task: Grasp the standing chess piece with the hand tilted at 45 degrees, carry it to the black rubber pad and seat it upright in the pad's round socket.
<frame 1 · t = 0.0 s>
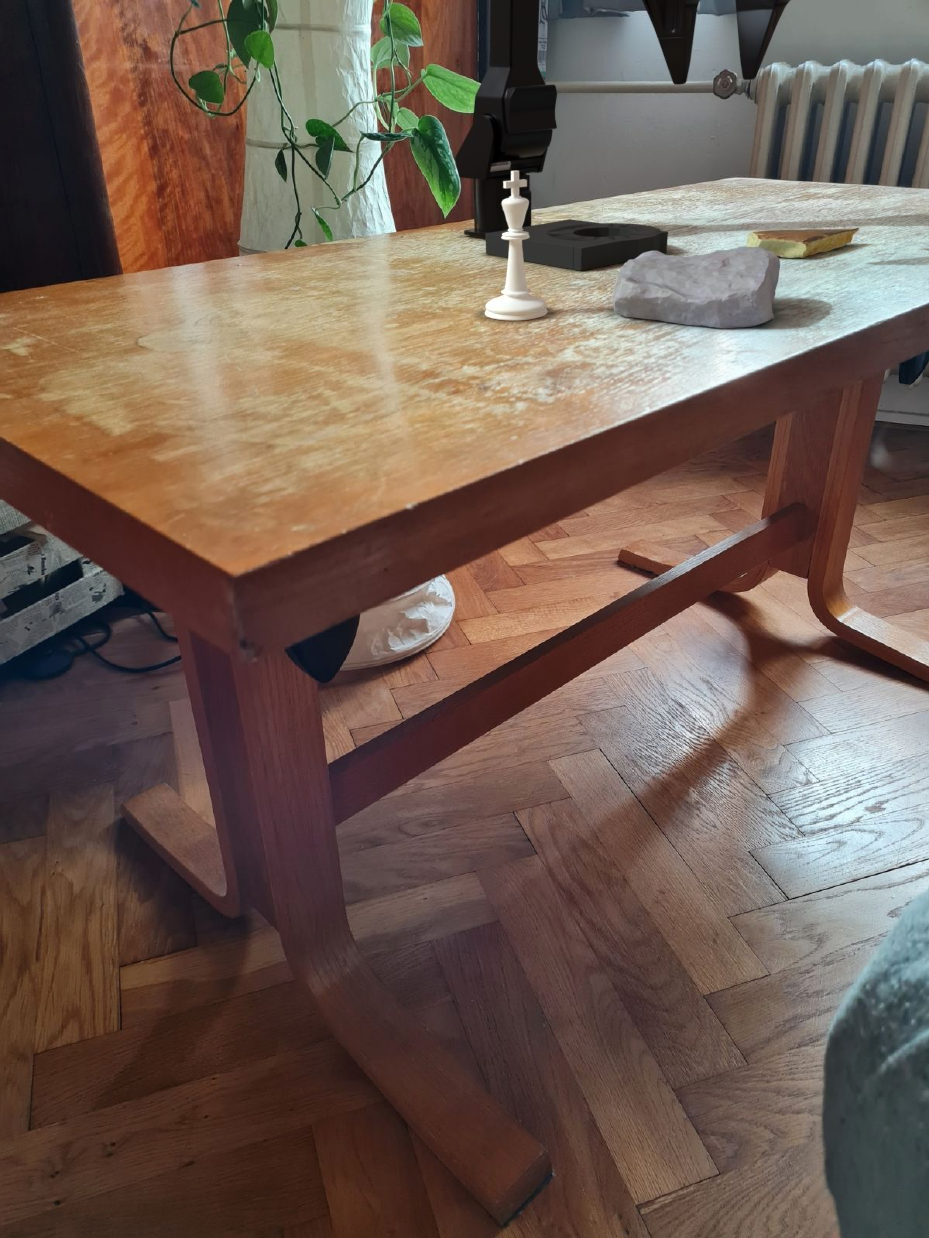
hand: (715, 82, 75), 15 cm above the table, tool pointing down, fingers open, 9 cm apart
yellow brown flat wedge: (789, 251, 88), on the table
stone block: (691, 316, 67), on the table
chess piece: (516, 315, 70), on the table
socket pad: (574, 253, 90), on the table
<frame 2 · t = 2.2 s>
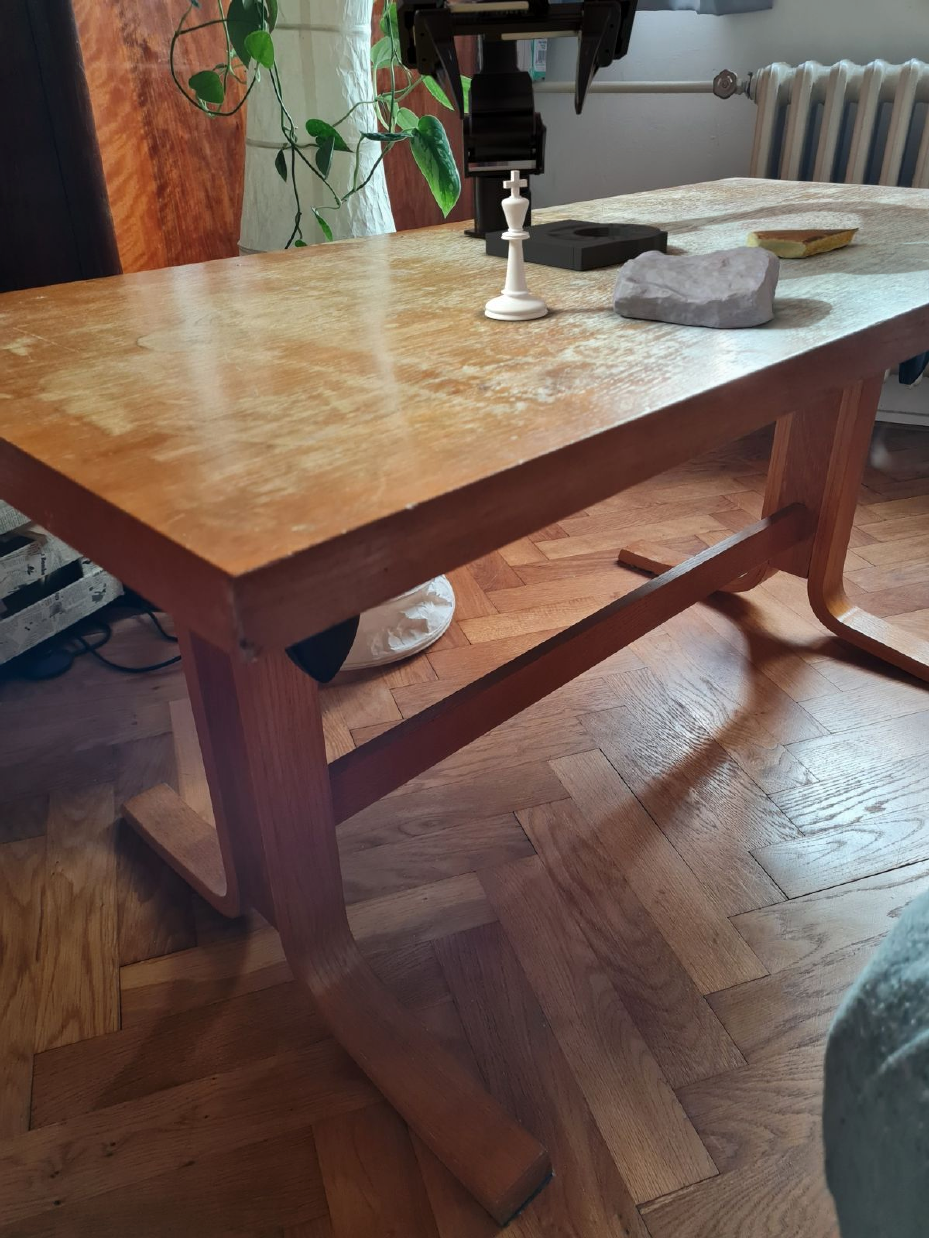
hand: (520, 113, 69), 13 cm above the table, tool tilted 45°, fingers open, 9 cm apart
nothing on the table moved.
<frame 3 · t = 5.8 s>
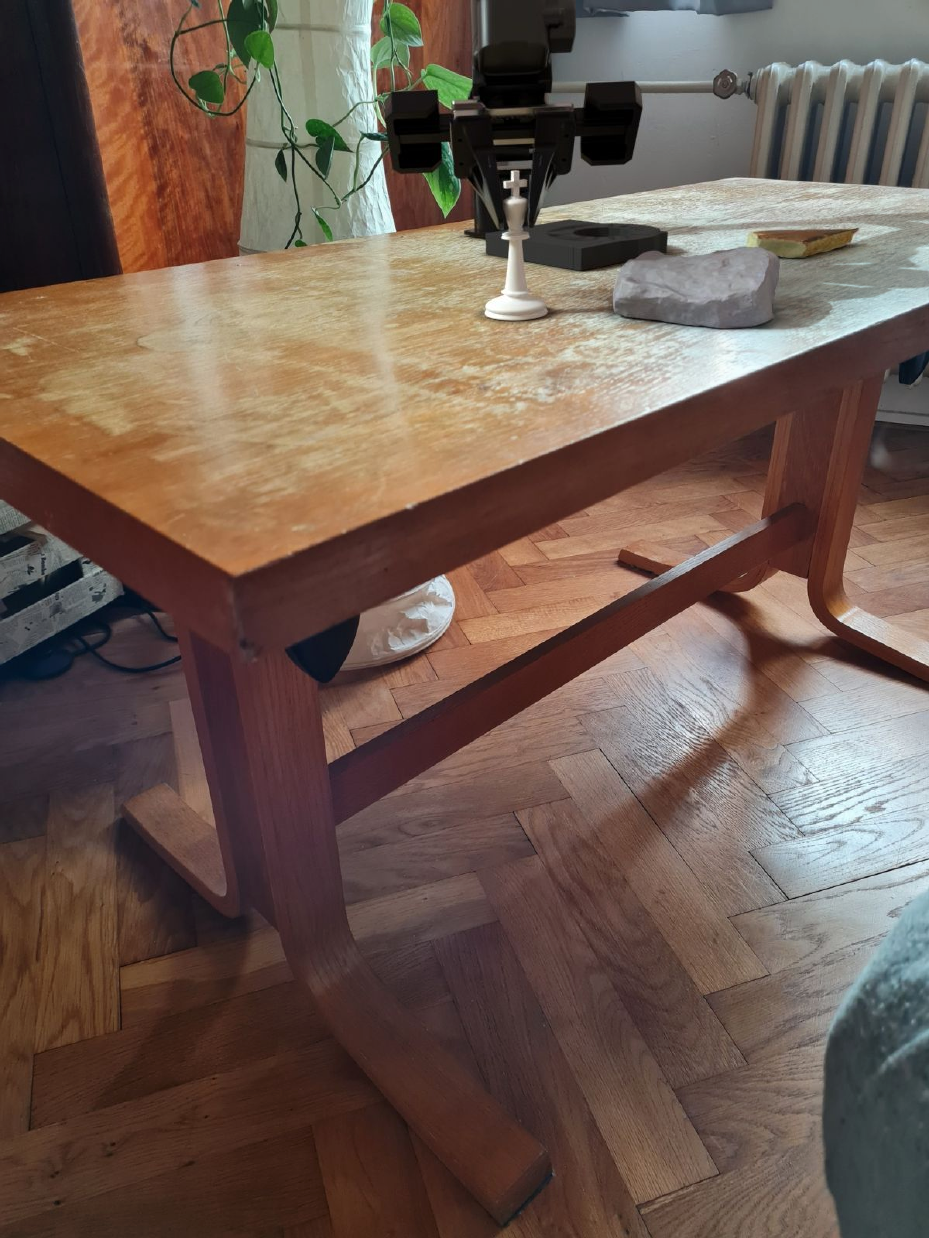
hand: (515, 225, 65), 7 cm above the table, tool tilted 45°, fingers closed on chess piece
chess piece: (516, 315, 70), on the table, touching gripper
everything else where it was.
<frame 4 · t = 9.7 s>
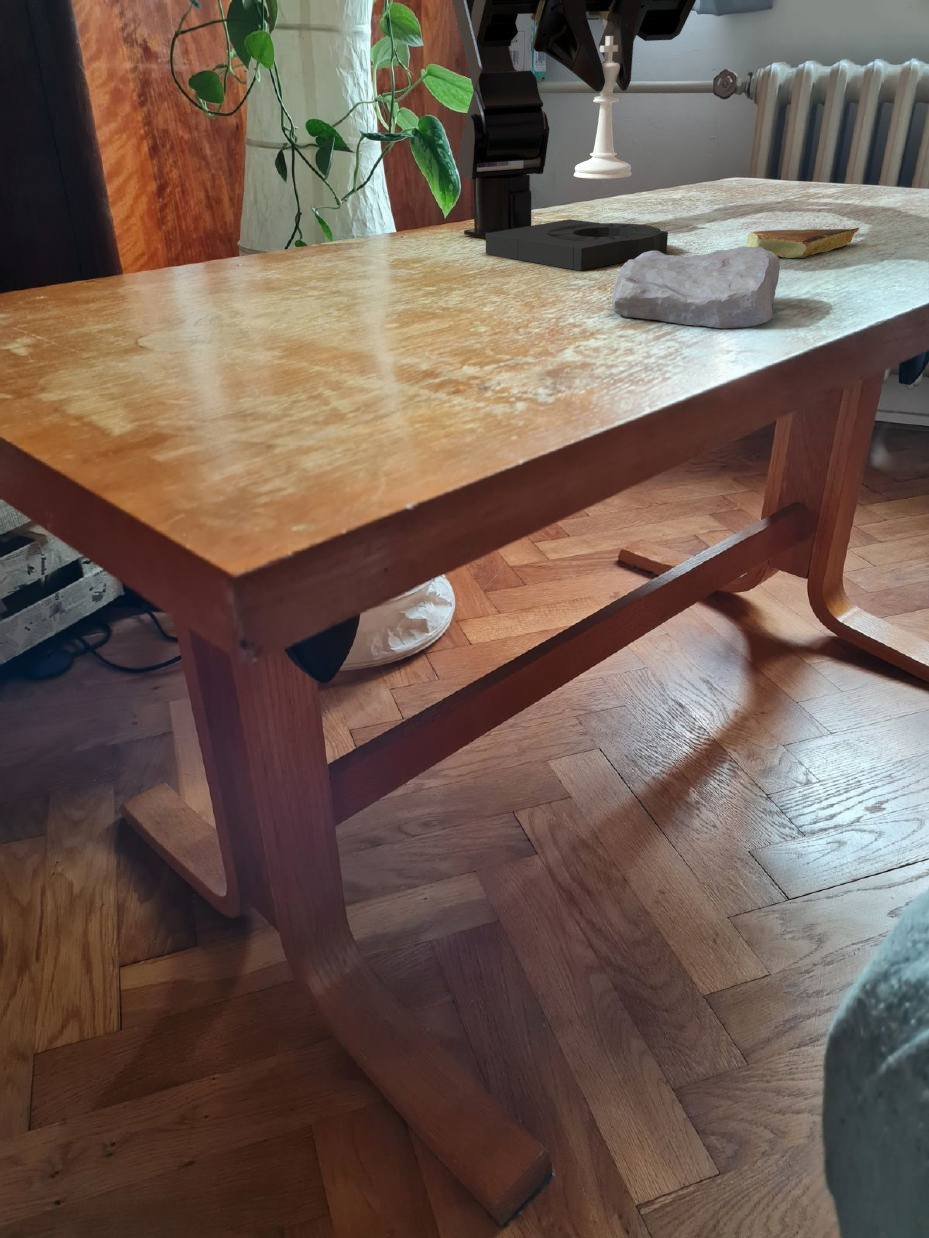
hand: (613, 87, 71), 15 cm above the table, tool tilted 45°, fingers closed on chess piece
chess piece: (602, 178, 76), point 8 cm above the table, touching gripper
everything else where it was.
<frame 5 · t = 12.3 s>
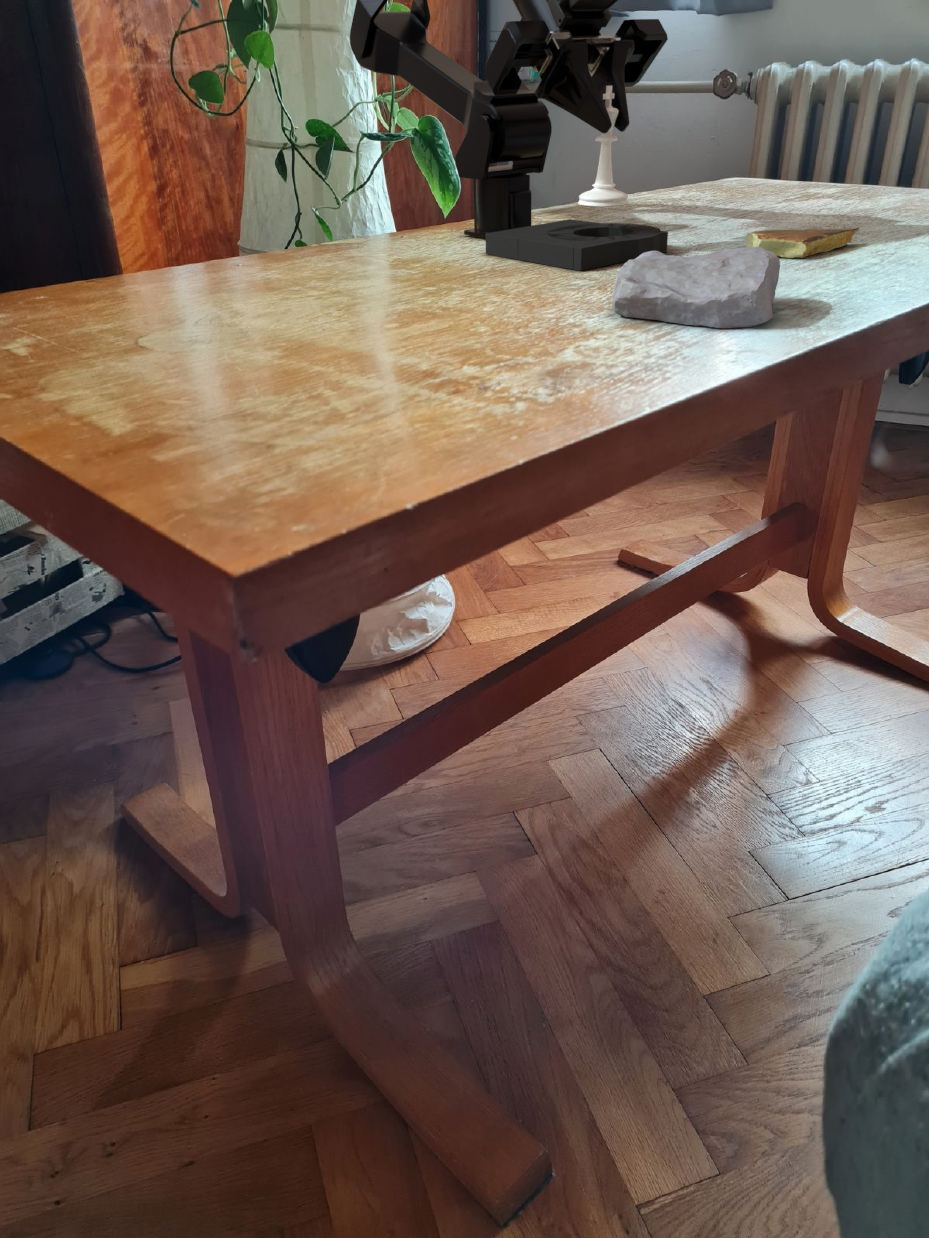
hand: (616, 129, 83), 11 cm above the table, tool tilted 45°, fingers closed on chess piece
chess piece: (602, 205, 88), point 4 cm above the table, touching gripper
everything else where it was.
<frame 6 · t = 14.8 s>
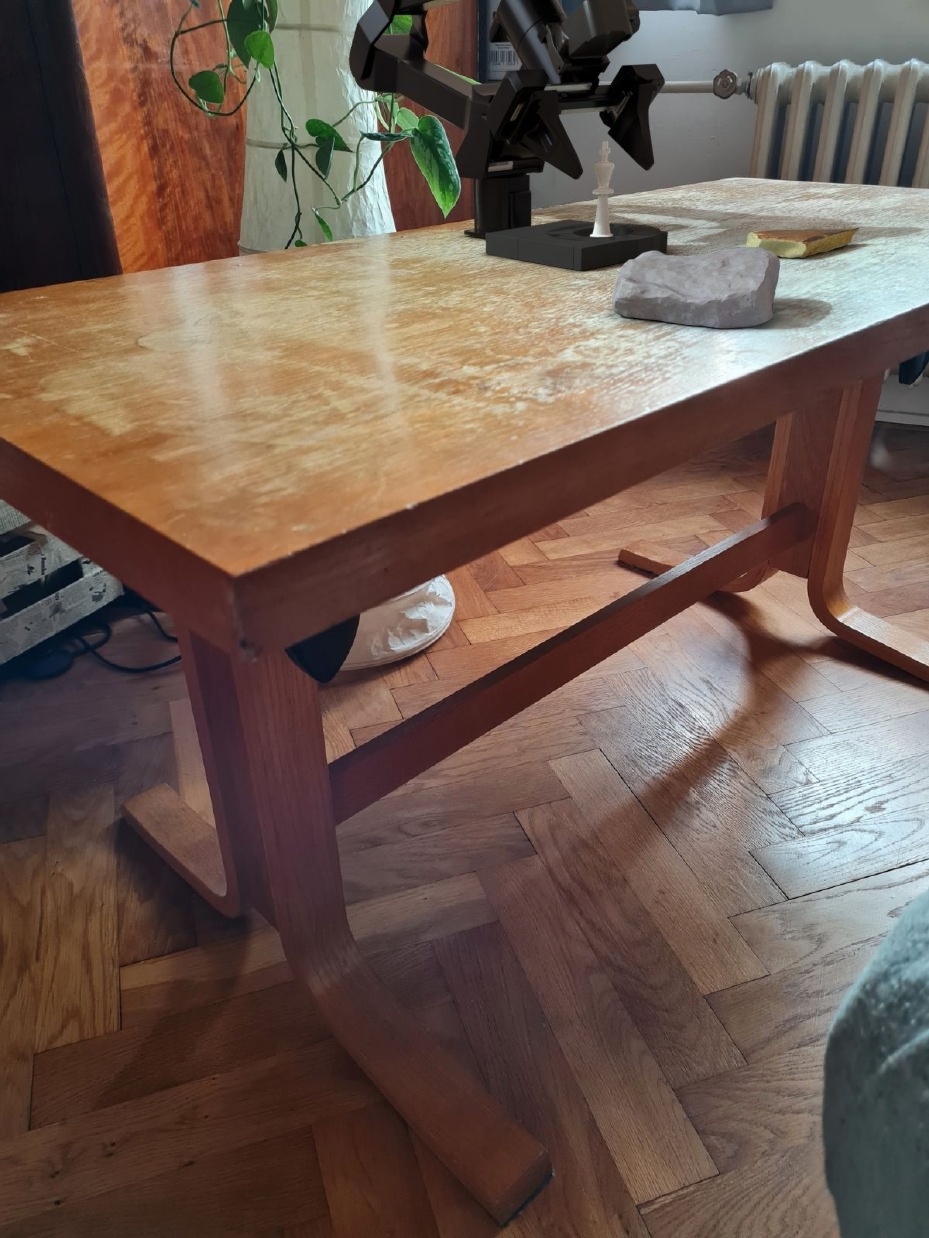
hand: (616, 171, 85), 7 cm above the table, tool tilted 45°, fingers open, 9 cm apart
chess piece: (600, 254, 90), resting in socket pad
everything else where it was.
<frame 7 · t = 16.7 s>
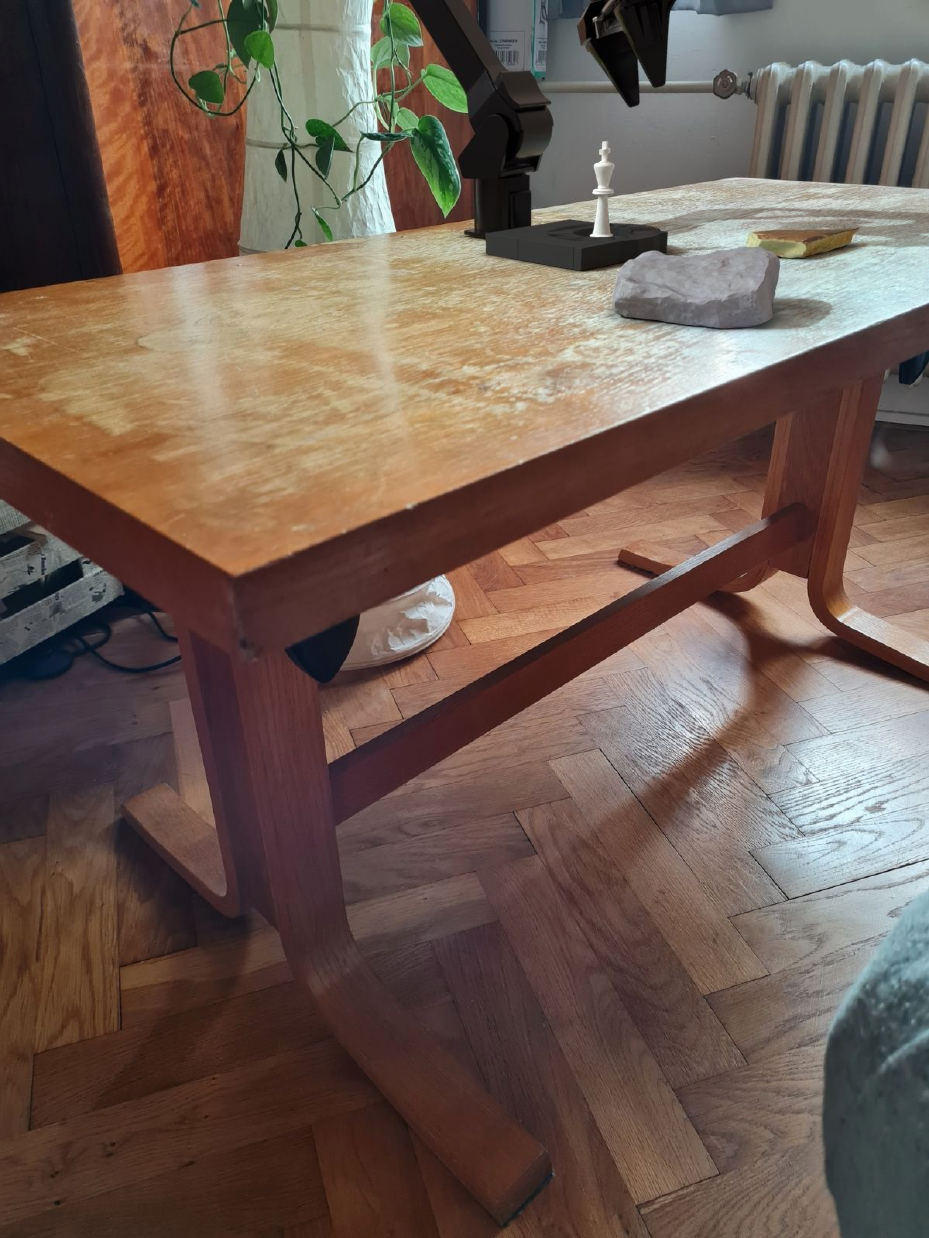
hand: (646, 97, 86), 13 cm above the table, tool tilted 15°, fingers open, 9 cm apart
nothing on the table moved.
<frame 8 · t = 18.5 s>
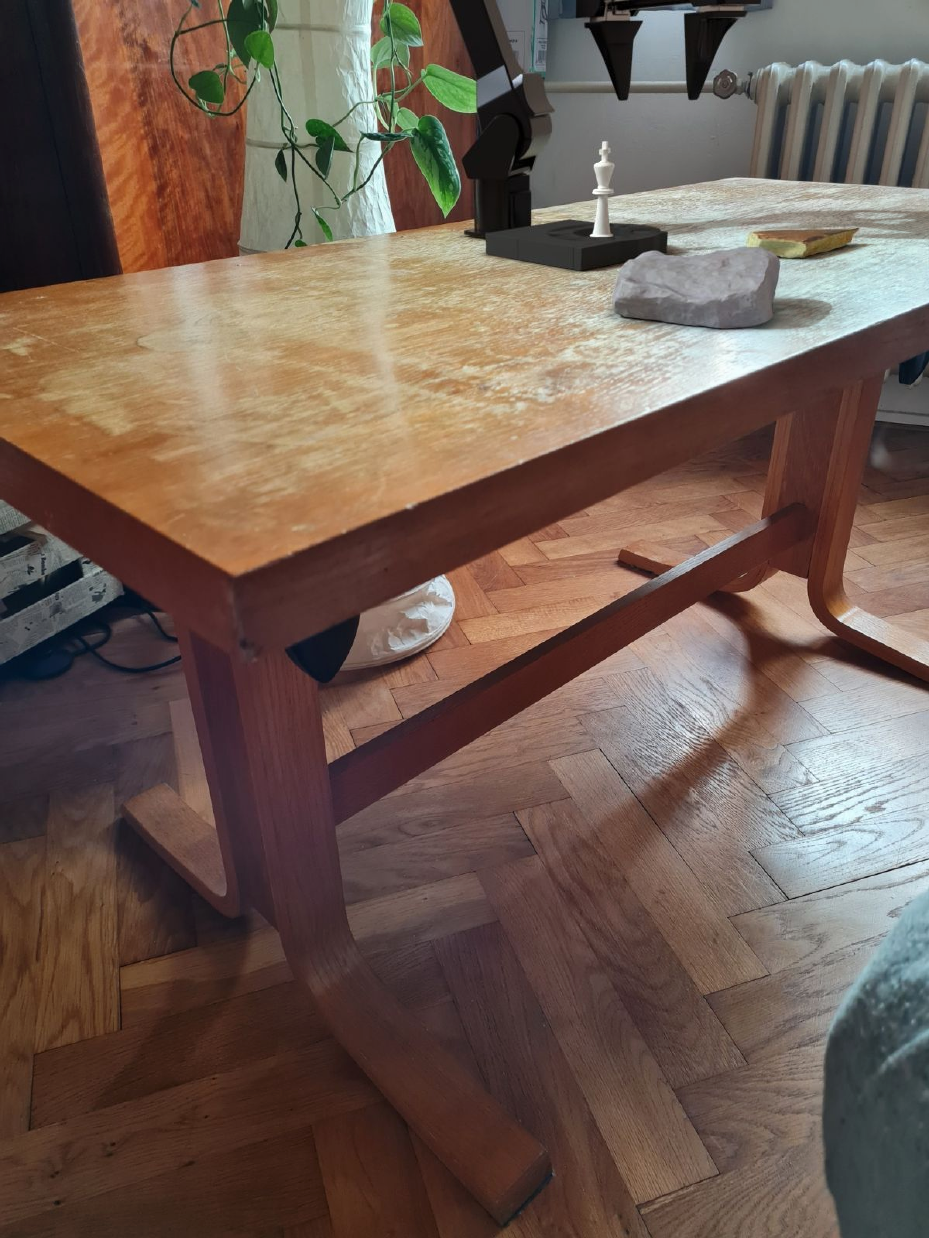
hand: (656, 100, 89), 13 cm above the table, tool pointing down, fingers open, 9 cm apart
nothing on the table moved.
at the end: chess piece 0.2 cm from the target spot in the socket pad, point 0.0 cm above the socket pad's base; chess piece tilted 0°; the gripper is holding nothing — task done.
